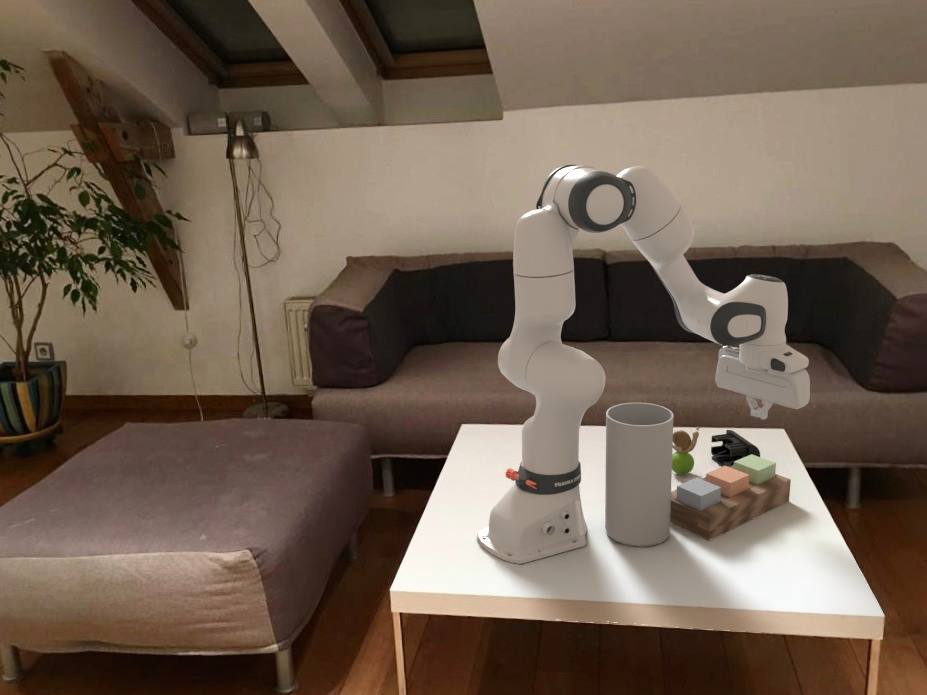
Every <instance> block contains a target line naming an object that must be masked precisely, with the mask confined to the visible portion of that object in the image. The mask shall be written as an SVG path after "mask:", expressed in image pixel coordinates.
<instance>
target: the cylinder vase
mask: <svg viewBox="0 0 927 695" xmlns="http://www.w3.org/2000/svg"><path fill="white" fill-rule="evenodd" d="M674 417H675V416H674V413H673V411H672V410H670V409H669V408H667V407H665V406H662V405H660V404H655V403H648V402H625V403H619V404H616V405H613V406H611V407H609V408H608V409H607V410H606V412H605V492H604V493H605V500H604V502H605V503H604V504H605V506H604V508H605V510H604V511H605V512H604V513H605V514H604V515H605V516H604V517H605V518H604V523H605V524H604V528H605V529H604V530H605V532H606V534H607V536H609V537H610V538H611V539H612V540H614V541H615V542H617V543H620V544H623V545H626V546H631V547H640V548H642V547H650V546H651V547H652V546H656V545H658V544H660V543H663V542H664V541H665V540H666V539H667V538H668V537H669V536H670V533H671V523H670V510H671V492H672V474H673V470H672V454H673V449H674V448H673V445H674V443H673V433H674Z"/></svg>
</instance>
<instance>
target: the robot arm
mask: <svg viewBox="0 0 927 695" xmlns="http://www.w3.org/2000/svg"><path fill="white" fill-rule="evenodd" d="M535 207H536V209H534V210H531V211H529V212H527V213H525V214H523V215H522V216H520V218H519V219H518V220H517V222H516V224H515V232H514V238H513V240H514V241H513V250H512V252H513V254H512V255H513V257H512V260H513V261H512V267H513V280H514V281H513V282H514V285H513V286H514V301H515V304H514V305H515V309H514V310H515V312H514V313H515V314H514V321H513V326H512V330H511V333H510V336H509V337H508V338H506V340H505V341H504V342H503V343H502V345H501V347H500V348H499V350H498V355H497V365H498V369H499V371H500V373H501V374H502V375H503V376H504V377H505V378H506V379H507V380H508V381H509V382H510V383H511V384H512V385H514V386H515V387H517V388H518V389H521V390H523V391H526V392H528V393H529V394H532V395H534V397H535V403H536V405H535V409H534V413H533V415H532V416H530V417H529V418H528V419H527V420H526V421H525V422H523V425H522V427H521V458H522V459H521V462H520V463H519V466H518V470H514V469H513V468H511V467H509V468H507V469H506V471H505V478H507V479H510V480H511V481H512V482H513V481H515V483H514V484H513V485H512V486H511V488H509V490H508V491H507V492H506V493H505V494H504V496H502V498H501V499H500V500H498V502H497V503H496V504H495V505H494V506H493V507H492V509H491V510H490V513H489V519H488V526H485V527H484V528H482V529H481V530H479V531H478V532H477V536H476V538H477V541H478V543H479V545H481V547H482V548H483V549H485V550H486V551H487V552H489V553H490V554H492V555H494V556H495V557H497V558H498V559H501V560H503V561H507V562H510V563H513V564H519V565H521V564H525V563H526V564H527V563H529V562H534V561H537V560H540V559H544V558H547V557H551V556H554V555H557V554H561V553H565V552H569V551H572V550H575V549H578V548H583V547H584V546H586V545H587V540H586V535H587V532H588V525H587V523H586V520H585V517H584V511H583V505H582V501H581V500H582V499H581V491H580V490H581V488H580V484H581V482H582V466H581V465H582V464H581V462H580V458H579V457H580V454H579V452H580V450H579V449H580V448H579V446H580V428H581V424H582V421H583V417H584V415H585V413H586V411H587V409H589V408H590V407H592V406H594V404H596V403H597V401H598V400H599V399H600V397H602V394H603V392H604V390H605V386H606V385H605V384H606V373H605V370H604V368H603V366H602V364H600V362H598V360H596V359H595V358H593V357H592V356H590V355H589V354H587V353H586V352H585V351H583V350H581V349H577V348H575V347H573V346H570V345H566V344H564V343H563V341H562V338H561V335H562V334H561V333H562V328H563V324H564V322H565V321H566V320H568V319H570V317H571V316H572V315H573V314H574V312H575V310H576V304H577V303H576V284H575V264H574V254H573V251H574V246H575V241H576V238H577V236H578V234H579V233H580V231H584V232H587V233H591V234H598V233H604V232H608V231H611V230H613V229H614V228H617V227H618V226H621V227H622V228H623V231H624V232H625V234H626V235H627V237H628V238H629V239H630V241H631V242H632V243H633V245H634V247H636V249H637V250H638V251H639V252H640V254H642V256H643V257H644V258H645V259H646V260H647V262H649V264H650V265H651V267H652V268H653V271H654V272H655V274H656V275H657V277H658V278H659V280H660V281H661V283H662V285H663V286H664V288H665V289H666V291H667V293H668V294H669V296H670V298H671V300H672V303H673V309H674V312H675V313H674V314H675V317H676V319H677V320H676V321H677V322H678V324H679V325H680V327H681V328H682V329H684V330H685V331H687V333H692V334H695V335H697V336H698V335H699V336H700V337H702V338H704V339H707V340H708V341H711V342H713V343H715V344H718V345H720V346H722V347H720V349H719V350H718V362H717V365H716V366H717V367H716V370H715V371H716V372H715V384H716V385H717V387H718V388H720V389H724V390H726V391H727V390H728V391H731V392H734V393H737V394H741V395H745V398H746V399H745V401H746V403H747V405H748V407H749V409H750V416H751V417H754V418H757V419H760V420H763V421H765V420H766V419H767V418H768V417H769V416H768V414H769V411H770V409H771V408H772V407H773V405H774V404H775V405H779V406H783V407H786V408H789V409H793V410H798V409H802V408H803V407H804V408H805V406H806V405H808V403H809V402H810V400H811V399H810V396H811V389H810V388H811V380H810V374H809V373H808V371H807V370H806V368H808V366H809V364H810V360H809V358H808V357H807V356H806V355H804V354H802V353H801V352H800V351H797V350H796V349H794V348H793V347H791V346H790V345H789V344H787V336H786V333H785V331H786V330H785V329H786V324H787V321H788V315H789V314H788V313H789V310H788V309H789V298H788V297H789V296H788V290H787V285H786V284H785V282H784V281H783V280H782V279H780V278H778V277H776V276H775V277H774V276H771V275H766V274H759V273H758V274H757V273H754V274H753V273H751V274H747V275H746V276H745V279H744V280H743V281H742V282H741V283H740V284H739V285H737V286H736V287H735V288H733V289H732V290H730V291H728V292H726V293H723V292H720V291H718V290H715V289H714V288H712V287H710V286H707V285H705V284H704V283H702V282H701V281H700V280H699V278H698V277H697V275H696V273H695V272H694V270H693V268H692V267H691V265H690V264H689V262H688V261H687V259H686V257H685V255H684V254H685V253H686V252H687V251H688V250H689V248H690V247H691V245H692V243H693V241H694V238H695V237H694V236H695V229H694V225H693V223H692V220H691V219H690V217H689V215H688V213H687V211H686V210H685V208H684V207H683V205H682V203H680V201H679V199H678V198H677V197H676V195H675V194H674V193H673V192H672V191H671V189H670V188H669V186H667V185H666V183H665V182H664V181H663V180H662V179H661V178H660V177H659V176H658V175H657V174H656V173H655V172H654V171H653V170H652V169H650V168H649V167H646V166H644V165H635V166H630V167H627V168H624V170H622V171H620V172H619V173H617V175H616V174H613V173H610V172H608V171H602V170H600V169H597V168H595V167H593V166H588V165H579V164H578V165H577V164H567V165H563V166H560V167H558V168H556V169H554V170H553V171H552V172H550V174H549V175H548V176H547V178H546V179H545V181H544V183H543V186H542V189H541V193H540V195H539V198H538V199H537V201H536V204H535ZM735 346H739V347H735ZM757 400H761V405H763V406H762V407H759V404H758V401H757Z"/></svg>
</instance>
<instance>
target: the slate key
mask: <svg viewBox="0 0 927 695" xmlns="http://www.w3.org/2000/svg"><path fill="white" fill-rule="evenodd" d="M676 489H677V496H676V500H677V501H679V502H681V503H683V504H686V505H688V506H690V507H692V508H695V509H697V510H699V511H702V510H705V509H707V508H709V507H711V506H713V505H716V504H718V503H720V498H721V487H719V486H716V485H714V484H711V483H709V482H706V481H704V480H702V478H699V477H695V478H694V477H693V479H689V480H688V481H685V482H683V483H680V484H678V485H676Z"/></svg>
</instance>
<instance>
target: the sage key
mask: <svg viewBox="0 0 927 695" xmlns="http://www.w3.org/2000/svg"><path fill="white" fill-rule="evenodd" d="M776 467H777V463H776V462H774V461H771V460H769V459H765V458H763V457H761V456H760V457H758V456H755V455H752V454H751V455H749V456H746V457H744V458H742V459H739V460H737V461H735V462H734V469H735V470H738V471H741V472H743V473H746V474H749V482H751V483H754V484H757V485H759V484H761V483H763V482H766V481H768V480H770V479H772V478H774V477H775V474H776V473H777V472H776V470H777V469H776Z"/></svg>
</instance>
